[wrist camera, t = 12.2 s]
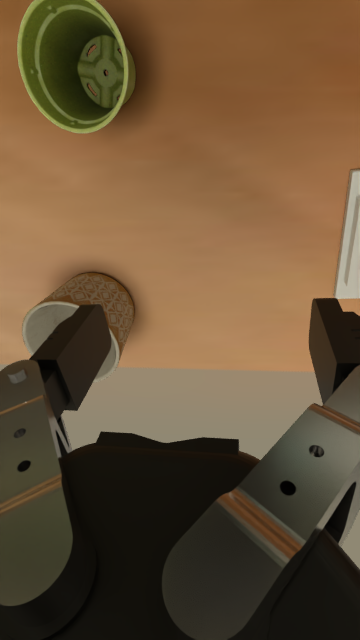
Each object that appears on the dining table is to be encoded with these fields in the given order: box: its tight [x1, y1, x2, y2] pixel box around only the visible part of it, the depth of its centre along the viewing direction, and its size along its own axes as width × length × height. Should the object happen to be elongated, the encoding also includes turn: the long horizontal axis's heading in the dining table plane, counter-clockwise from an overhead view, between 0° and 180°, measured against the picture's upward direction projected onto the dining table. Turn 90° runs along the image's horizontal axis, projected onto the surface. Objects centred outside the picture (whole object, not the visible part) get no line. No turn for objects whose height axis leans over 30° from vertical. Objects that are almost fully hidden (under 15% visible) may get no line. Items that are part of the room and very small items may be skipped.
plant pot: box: [17, 0, 136, 133], centre depth 31 cm, size 9×9×9 cm
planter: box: [22, 273, 134, 383], centre depth 46 cm, size 13×13×10 cm
